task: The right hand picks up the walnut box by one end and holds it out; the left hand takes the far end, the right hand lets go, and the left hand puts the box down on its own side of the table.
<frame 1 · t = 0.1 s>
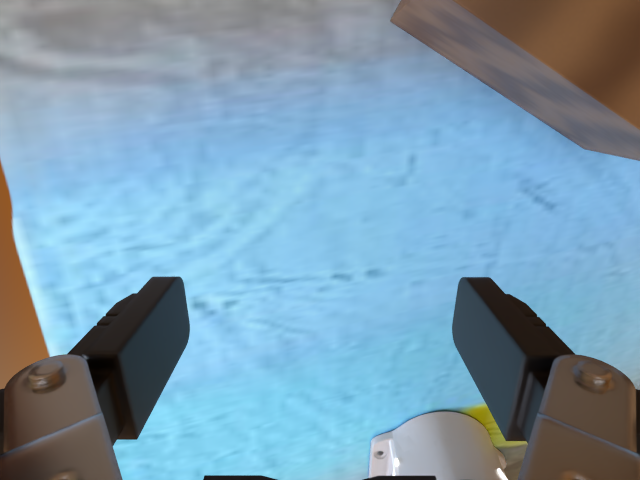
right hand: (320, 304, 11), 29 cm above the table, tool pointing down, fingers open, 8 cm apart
box: (513, 56, 35), on the table
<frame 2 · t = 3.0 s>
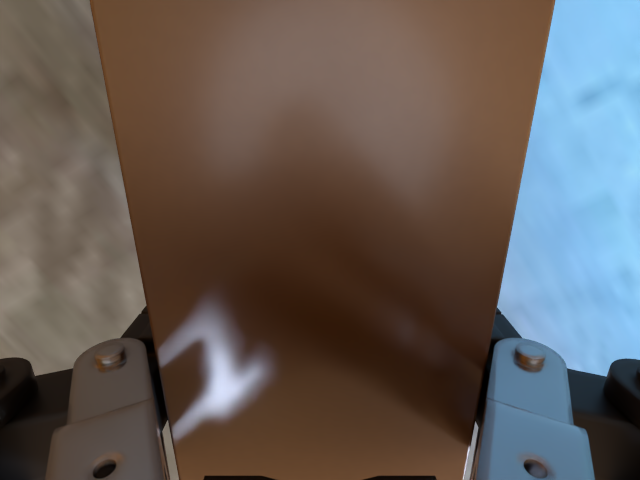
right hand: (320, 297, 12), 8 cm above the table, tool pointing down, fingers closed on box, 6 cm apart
box: (320, 27, 17), on the table, touching right hand
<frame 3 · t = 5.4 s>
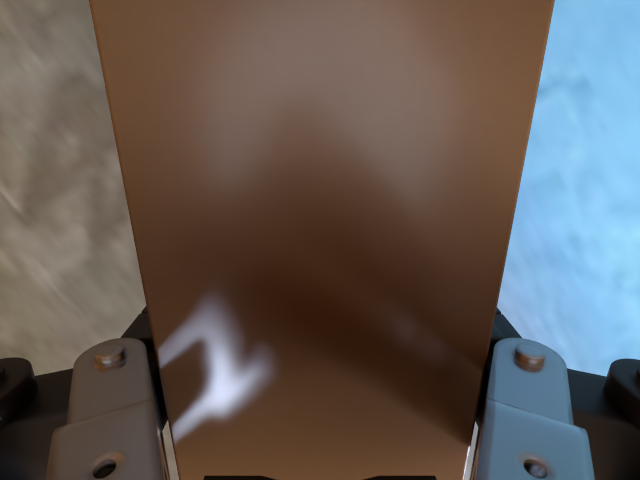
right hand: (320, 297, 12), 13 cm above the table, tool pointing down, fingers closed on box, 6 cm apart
box: (320, 27, 17), point 5 cm above the table, touching right hand
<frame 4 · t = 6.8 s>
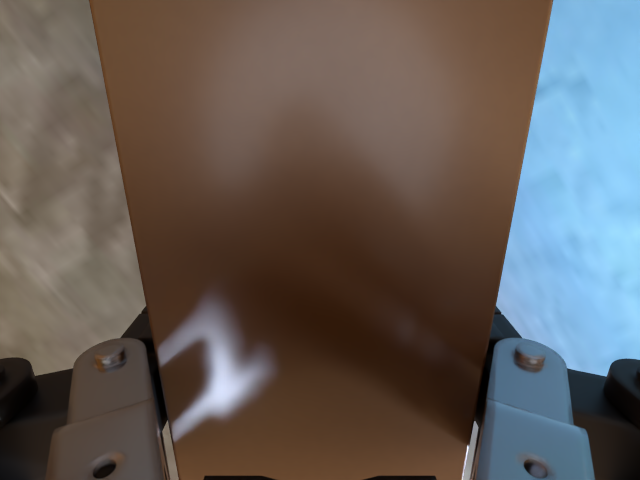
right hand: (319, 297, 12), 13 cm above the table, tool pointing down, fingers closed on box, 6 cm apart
box: (320, 27, 17), point 5 cm above the table, touching right hand, left hand
when the right hand's fingers open (13 cm above the table, at t = 8.2 s): box moves 2 cm, held by the left hand.
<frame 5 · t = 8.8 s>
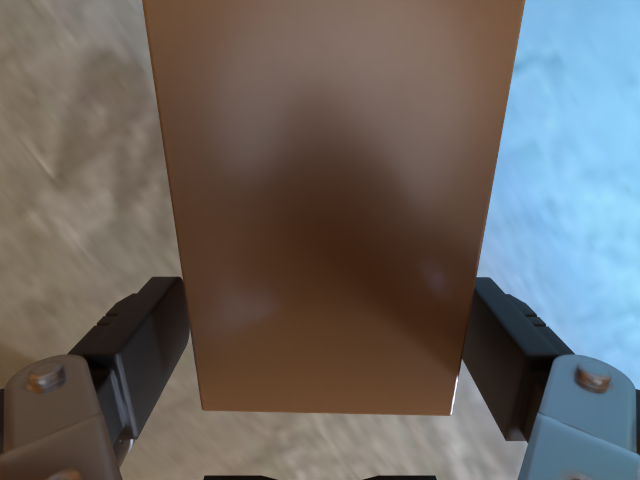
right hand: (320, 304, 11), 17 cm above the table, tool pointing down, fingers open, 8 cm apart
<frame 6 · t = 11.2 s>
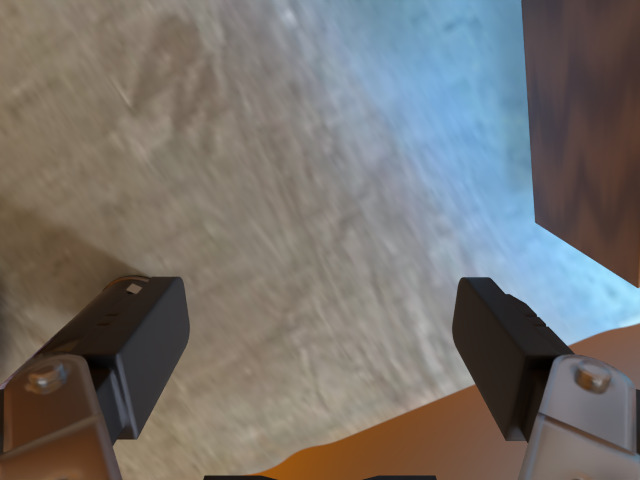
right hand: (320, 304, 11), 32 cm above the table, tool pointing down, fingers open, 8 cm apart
box: (565, 86, 32), point 7 cm above the table, touching left hand
when the left hand's fingers open (9 cm above the table, at t = 15.5 s): box drops 1 cm, on the table.
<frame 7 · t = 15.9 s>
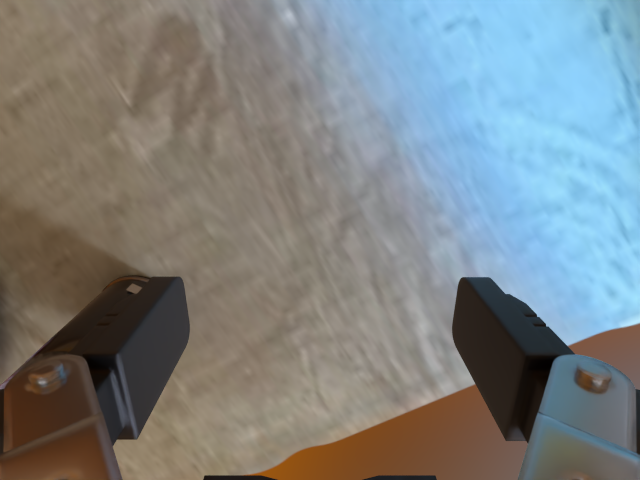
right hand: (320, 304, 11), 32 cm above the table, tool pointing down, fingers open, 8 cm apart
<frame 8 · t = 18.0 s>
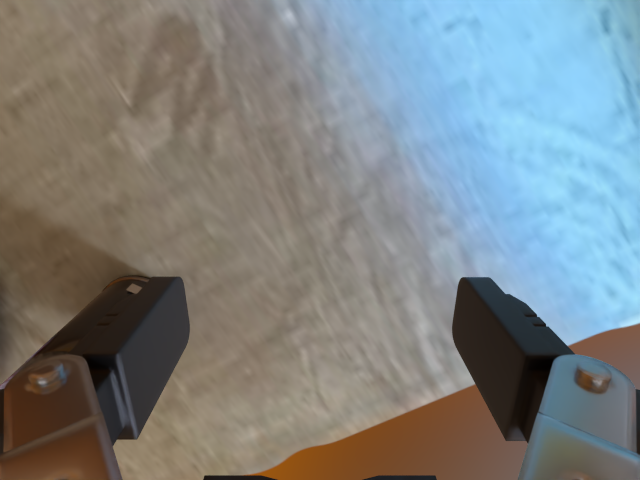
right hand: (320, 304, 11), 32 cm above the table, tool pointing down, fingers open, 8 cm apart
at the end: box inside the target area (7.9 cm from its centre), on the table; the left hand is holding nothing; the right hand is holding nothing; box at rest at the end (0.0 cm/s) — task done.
